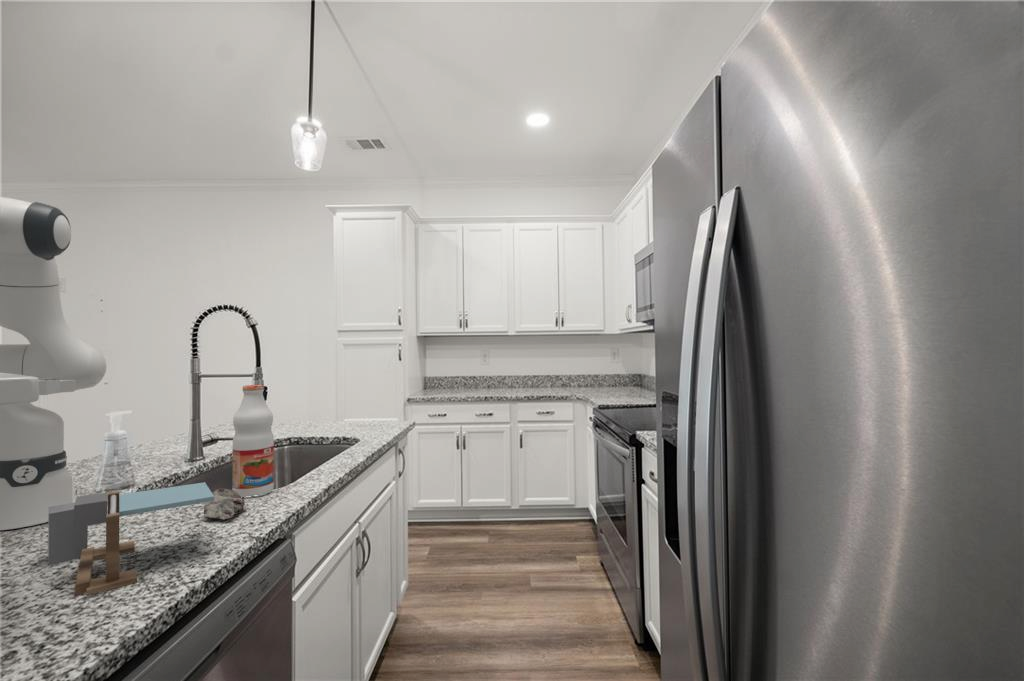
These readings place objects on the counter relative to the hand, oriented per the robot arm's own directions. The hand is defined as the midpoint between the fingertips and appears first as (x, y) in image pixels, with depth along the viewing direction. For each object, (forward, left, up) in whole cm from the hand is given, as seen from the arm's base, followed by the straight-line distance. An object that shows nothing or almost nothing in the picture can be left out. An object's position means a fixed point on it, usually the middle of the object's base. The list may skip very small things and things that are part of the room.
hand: (67, 384), depth 74 cm
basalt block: (-14, -1, -32) cm, 35 cm away
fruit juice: (-33, +33, -32) cm, 57 cm away
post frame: (-3, +6, -32) cm, 33 cm away
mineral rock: (-21, +25, -32) cm, 46 cm away
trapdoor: (-3, +10, -23) cm, 26 cm away
